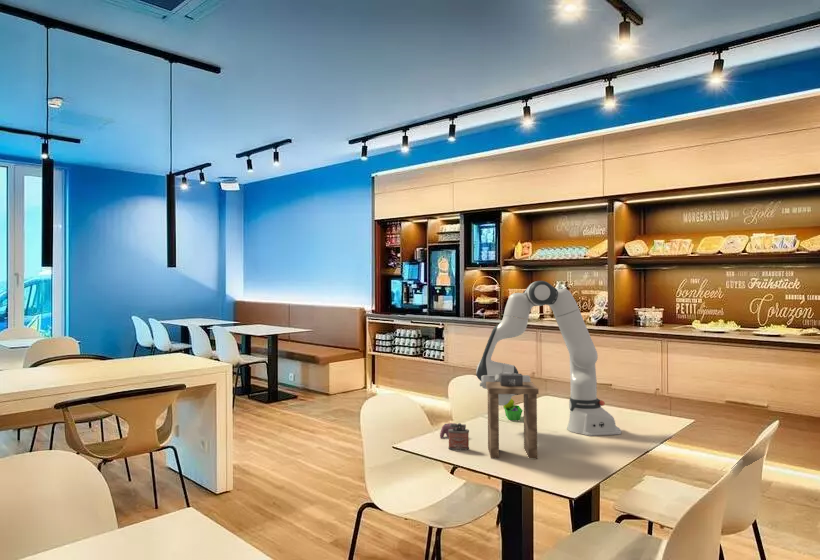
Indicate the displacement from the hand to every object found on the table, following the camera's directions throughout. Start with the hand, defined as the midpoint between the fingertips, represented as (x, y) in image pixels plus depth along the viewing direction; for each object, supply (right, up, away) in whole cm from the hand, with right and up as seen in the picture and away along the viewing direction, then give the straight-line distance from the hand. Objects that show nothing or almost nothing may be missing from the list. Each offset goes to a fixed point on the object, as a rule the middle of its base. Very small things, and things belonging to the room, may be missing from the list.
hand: (507, 374), depth 219 cm
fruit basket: (+10, -29, +42) cm, 52 cm away
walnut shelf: (-1, -28, -13) cm, 31 cm away
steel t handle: (0, -2, -6) cm, 6 cm away
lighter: (-20, -28, -7) cm, 35 cm away
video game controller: (-22, -28, +10) cm, 37 cm away
